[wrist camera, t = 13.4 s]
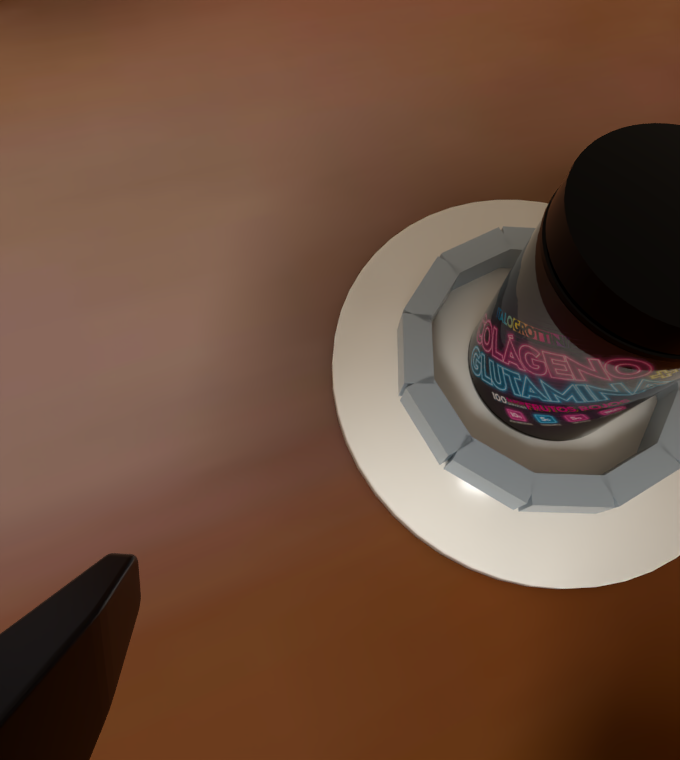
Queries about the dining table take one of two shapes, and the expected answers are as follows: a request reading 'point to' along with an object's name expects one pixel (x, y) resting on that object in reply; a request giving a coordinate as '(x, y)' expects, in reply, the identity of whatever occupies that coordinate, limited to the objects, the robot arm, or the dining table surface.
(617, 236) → the supplement container
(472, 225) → the round tray
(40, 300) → the dining table surface
